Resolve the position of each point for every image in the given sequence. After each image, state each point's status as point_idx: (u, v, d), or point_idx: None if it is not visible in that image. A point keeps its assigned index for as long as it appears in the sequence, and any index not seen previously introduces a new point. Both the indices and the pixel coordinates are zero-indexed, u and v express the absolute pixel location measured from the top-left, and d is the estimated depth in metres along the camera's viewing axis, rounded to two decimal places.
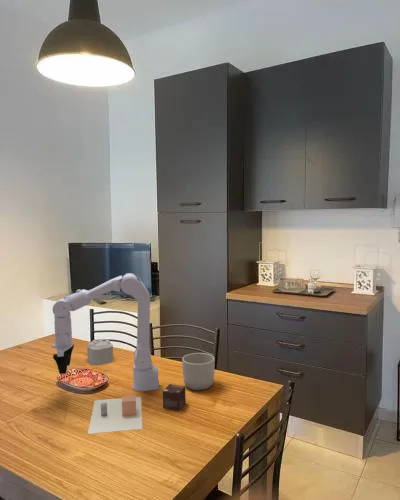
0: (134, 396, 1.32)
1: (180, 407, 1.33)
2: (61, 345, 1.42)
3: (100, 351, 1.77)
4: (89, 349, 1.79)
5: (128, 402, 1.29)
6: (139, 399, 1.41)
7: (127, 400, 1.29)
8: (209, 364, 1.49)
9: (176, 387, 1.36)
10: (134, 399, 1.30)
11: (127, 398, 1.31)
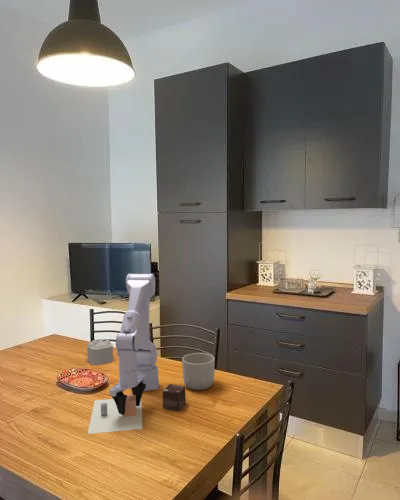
0: (134, 396, 1.32)
1: (180, 407, 1.33)
2: (121, 383, 1.28)
3: (100, 351, 1.77)
4: (89, 349, 1.79)
5: (128, 402, 1.29)
6: None
7: (127, 400, 1.29)
8: (209, 364, 1.49)
9: (176, 387, 1.36)
10: (134, 399, 1.30)
11: (127, 398, 1.31)
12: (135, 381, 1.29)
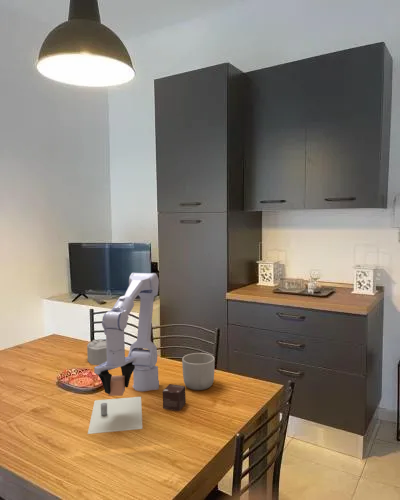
0: (122, 377, 1.31)
1: (180, 407, 1.33)
2: (107, 362, 1.27)
3: (100, 351, 1.77)
4: (89, 349, 1.79)
5: (114, 382, 1.27)
6: (139, 399, 1.41)
7: (113, 380, 1.28)
8: (209, 364, 1.49)
9: (176, 387, 1.36)
10: (121, 379, 1.28)
11: (115, 378, 1.29)
12: (121, 361, 1.27)
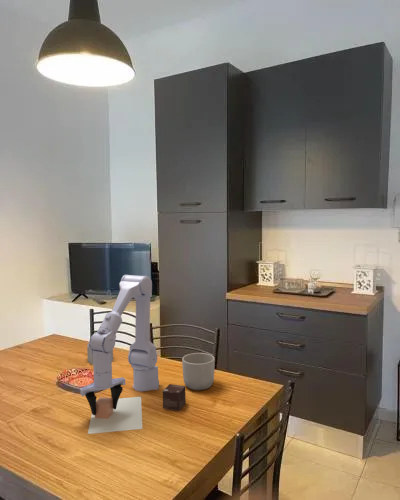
0: (110, 399, 1.30)
1: (180, 407, 1.33)
2: (94, 383, 1.28)
3: None
4: (89, 349, 1.79)
5: (100, 404, 1.27)
6: (139, 399, 1.41)
7: (100, 402, 1.28)
8: (209, 364, 1.49)
9: (176, 387, 1.36)
10: (107, 402, 1.28)
11: (102, 400, 1.30)
12: (107, 383, 1.27)
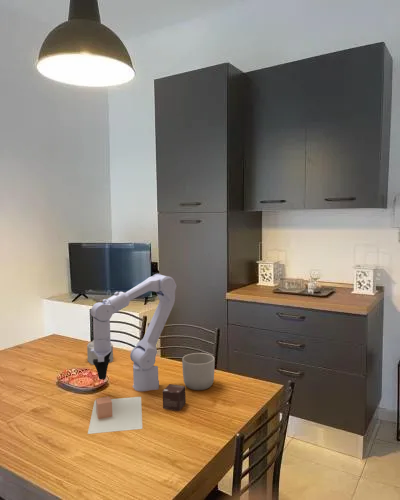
0: (99, 398, 1.31)
1: (180, 407, 1.33)
2: (100, 350, 1.38)
3: None
4: (89, 349, 1.79)
5: (110, 400, 1.30)
6: (139, 399, 1.41)
7: (109, 399, 1.30)
8: (209, 364, 1.49)
9: (176, 387, 1.36)
10: (106, 397, 1.32)
11: (104, 400, 1.29)
12: (110, 346, 1.42)
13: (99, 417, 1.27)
